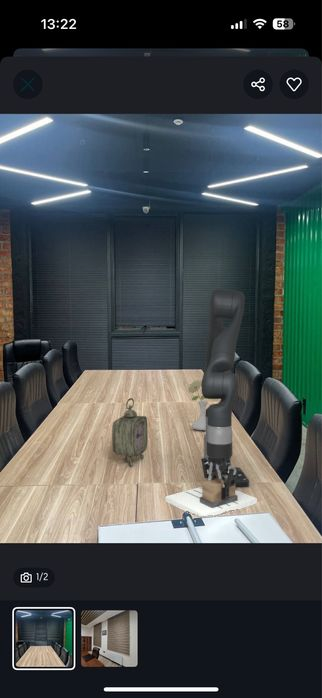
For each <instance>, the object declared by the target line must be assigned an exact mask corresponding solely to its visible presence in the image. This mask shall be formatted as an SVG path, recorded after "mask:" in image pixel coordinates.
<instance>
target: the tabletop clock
mask: <svg viewBox="0 0 322 698" xmlns="http://www.w3.org/2000/svg"><path fill="white" fill-rule="evenodd" d="M130 401H132V405H128V403H129V402H130ZM134 405H135V400H134V398H132V397H130V398H128V399H126V404H125V407H126V409H127V410H125V412H124V413H123V416H121V417H119V418H118V419H116V420H114V421H113V422H112V425H111V428H112V429H111V439H112V440H111V441H112V443H111V445H112V446H111V447H112V452H113V453H114V454H115V455H117V456H123V457H124V456H125V457H124V458H123V459H122V460H123V462H124V463H126V462H129V463H128V466H129V467H131V468H132V467H133V466H134V462H132V457H134V458H135V457H139V459H140V460H143V459H144V458H145V455H143V454H144V453H145V451H146V450H147V448H148V432H149V431H148V417H147V416H144V415H137V412H136V411H135V410H134V409H133V408H134Z"/></svg>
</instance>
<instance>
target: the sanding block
mask: <svg viewBox="0 0 322 698" xmlns="http://www.w3.org/2000/svg"><path fill="white" fill-rule="evenodd" d="M225 483H226V479H225ZM201 487H202V497H200V503H202V504H204V505H206V506H208V507H211V508H215V507H218V506H221V505H225V504H228V503H231V502H234V501H238V496H237V495H235V490H236V488H235V485H234V486H231V487H229V498H228V499H226V500H222V499H221V487H222V485H221V480H219V478H218V479H214V480H210V481H208V480H207V481H203V482H202V485H201Z"/></svg>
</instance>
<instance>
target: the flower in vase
mask: <svg viewBox="0 0 322 698" xmlns="http://www.w3.org/2000/svg"><path fill="white" fill-rule="evenodd" d="M201 382H202V380H200V379H196V380H195V379H194V380H193V381H192V382H191V383H190V384H189V386H188V388H187V389H188V393H191V394H194V393H196V392H197V395H194V396H193V397H192V398H191V400H192V401H197V400H198V399H199V401H197V403H198V405H199V409H200V416H199V417H198V418H197V419H195V421H194V422H193V423H192V424H191V428H192V429H193V430H195V431H196V430H197V431H202V430H203V431H206V406H207V404H208V403H209V401H205V399H206V398H204V397H203V395H202V396H200V393H199V389H200V388H201Z"/></svg>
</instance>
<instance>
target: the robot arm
mask: <svg viewBox="0 0 322 698" xmlns="http://www.w3.org/2000/svg"><path fill="white" fill-rule="evenodd" d="M245 300H246V299H245V294H244V293H243V292H242V291H239V290H234V289H233V290H231V289H222V288H217V289H214V290H213V291H212V292H211V296H210V301H209V321H208V322H209V323H208V324H209V325H208V333H207V341H206V349H205V364H204V370H203V374H202V379H201V387H200V388H201V394H202V396H203V397H204V398H205V399H207V400H220V401H218V402H217V403H212V404H210V405H208V407H207V408H205V416H206V430H205V434H203V458H202V457H201V459H200V460H201V465H202V470H203V471H202V472H203V477H204V479H207V481H210V480H214V479H217V476H218V477H219V480H221V485H222V487H221V499H222V500H226V499H228V498H229V487H231V486H234V485H235V482H236V478H237V473H238V466H237V467H234V466H233V465H232V462H231V457H232V456H233V427H232V426H233V425H232V424H233V423H232V422H233V421H232V419H233V418H232V416H233V405H234V402H235V398H236V394H237V391H238V388H239V379H238V377H237V375H236V374H235V373H233V372H230V371H231V370H233V368H234V365H235V358H236V357H235V356H236V348H237V341H238V338H239V332H240V329H241V325H242V320H243V315H244V310H245ZM221 318H222V319H231V321H230V322H229V324H228V325H227V326H226V327H225V326H224V325H223V322H222V320H221ZM224 474H226V475H225V476H222V475H224ZM225 479H226V483H225Z"/></svg>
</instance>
